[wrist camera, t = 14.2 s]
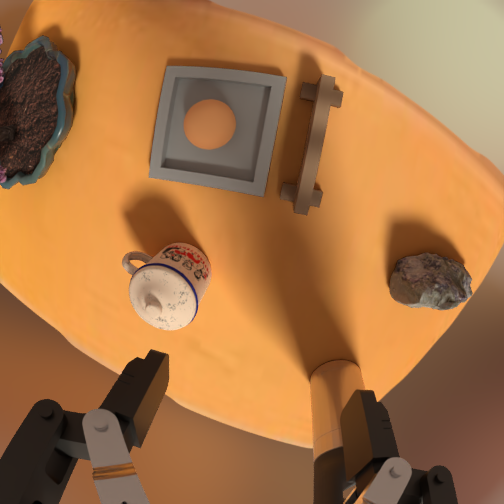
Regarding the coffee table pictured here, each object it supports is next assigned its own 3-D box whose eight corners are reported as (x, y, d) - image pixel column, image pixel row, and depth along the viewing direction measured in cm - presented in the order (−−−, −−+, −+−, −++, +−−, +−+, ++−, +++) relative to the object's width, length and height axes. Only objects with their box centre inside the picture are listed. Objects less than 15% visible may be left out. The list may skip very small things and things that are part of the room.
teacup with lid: (225, 262, 40) (204, 305, 29) (197, 307, 43) (172, 355, 32) (153, 217, 39) (109, 245, 28) (132, 266, 42) (91, 303, 31)
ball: (246, 140, 33) (238, 137, 28) (201, 156, 35) (185, 157, 29) (231, 96, 32) (220, 86, 26) (187, 114, 33) (168, 108, 27)
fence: (317, 209, 36) (322, 219, 31) (279, 201, 36) (278, 209, 32) (342, 90, 30) (350, 81, 26) (303, 80, 30) (306, 70, 26)
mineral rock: (467, 270, 36) (500, 300, 27) (426, 320, 40) (451, 357, 31) (421, 225, 35) (457, 249, 26) (377, 283, 39) (399, 321, 29)
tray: (264, 194, 36) (263, 197, 34) (155, 175, 37) (148, 177, 35) (286, 81, 31) (286, 77, 29) (172, 69, 31) (166, 65, 29)
